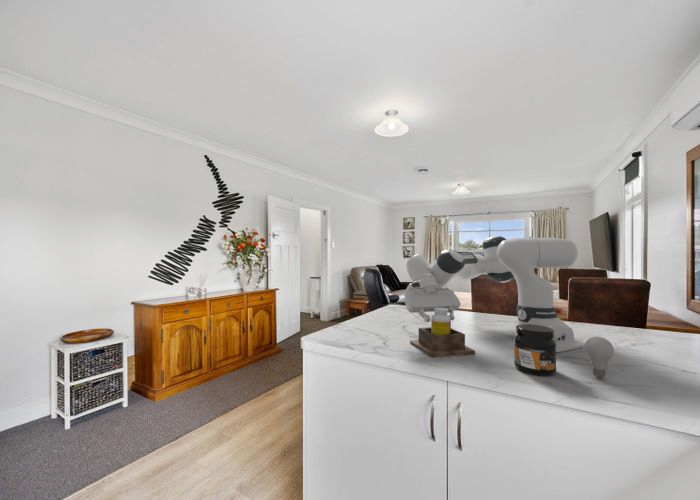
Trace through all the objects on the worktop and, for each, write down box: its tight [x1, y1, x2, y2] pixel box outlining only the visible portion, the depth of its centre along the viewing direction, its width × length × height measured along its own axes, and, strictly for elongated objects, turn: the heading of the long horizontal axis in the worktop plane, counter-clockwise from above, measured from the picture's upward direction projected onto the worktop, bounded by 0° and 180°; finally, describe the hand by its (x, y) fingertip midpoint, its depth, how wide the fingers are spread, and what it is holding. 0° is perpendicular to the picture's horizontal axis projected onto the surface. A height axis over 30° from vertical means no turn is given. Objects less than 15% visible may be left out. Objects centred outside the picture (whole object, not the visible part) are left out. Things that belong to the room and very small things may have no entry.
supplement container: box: [513, 324, 557, 377], centre depth 89 cm, size 10×10×12 cm
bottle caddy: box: [409, 326, 476, 359], centre depth 109 cm, size 16×16×6 cm
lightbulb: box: [584, 336, 615, 379], centre depth 83 cm, size 6×6×11 cm
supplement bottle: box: [430, 308, 452, 335], centre depth 109 cm, size 7×7×13 cm
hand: (440, 320), depth 109 cm, fingers open, 8 cm apart
